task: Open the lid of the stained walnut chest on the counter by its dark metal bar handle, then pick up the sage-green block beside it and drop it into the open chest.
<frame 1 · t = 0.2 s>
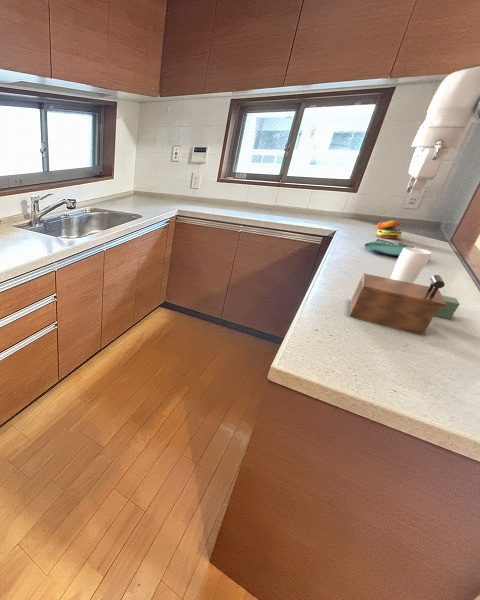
hand: (411, 194, 92), 32 cm above the worktop, tool pointing down, fingers open, 8 cm apart
white tapered cylinder: (394, 293, 110), on the worktop
block: (436, 313, 97), on the worktop
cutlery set: (391, 251, 153), on the worktop
chest: (383, 316, 94), on the worktop
lid: (404, 281, 89), point 12 cm above the worktop, hinge at 0.0°
cheeseburger: (385, 237, 175), on the worktop
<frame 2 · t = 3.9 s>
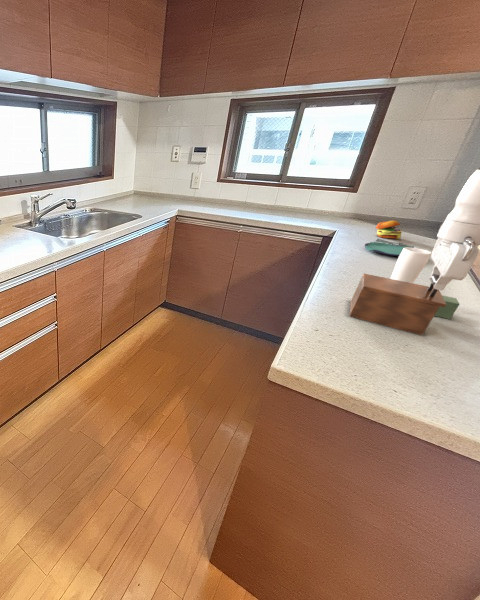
hand: (435, 284, 85), 12 cm above the worktop, tool pointing down, fingers closed on lid, 5 cm apart
lid: (404, 281, 89), point 11 cm above the worktop, hinge at 0.0°, touching gripper
everything else where it was.
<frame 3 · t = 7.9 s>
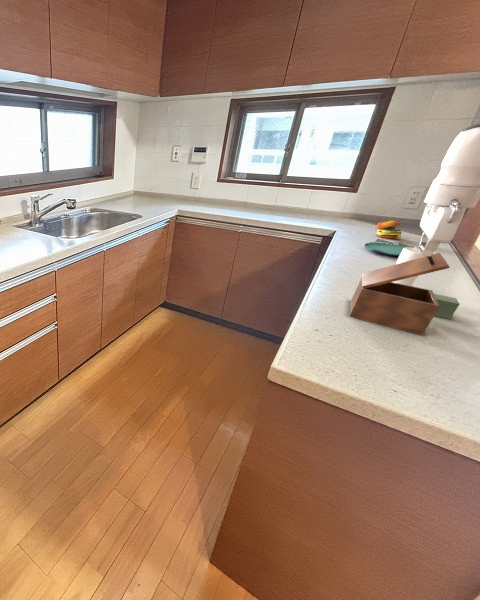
hand: (424, 252, 85), 20 cm above the worktop, tool pointing down, fingers closed on lid, 5 cm apart
lid: (397, 263, 88), point 16 cm above the worktop, hinge at 36.1°, touching gripper
everything else where it was.
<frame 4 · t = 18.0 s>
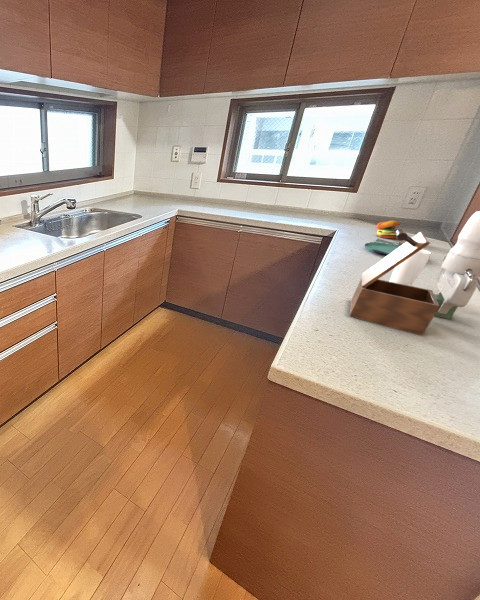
hand: (439, 308, 96), 2 cm above the worktop, tool pointing down, fingers closed on block, 5 cm apart
block: (436, 313, 97), on the worktop, touching gripper
lid: (384, 255, 90), point 18 cm above the worktop, hinge at 61.7°
everything else where it was.
when the fingers open (13 cm above the worktop, at t = 25.7 s): block drops 10 cm, resting on chest.
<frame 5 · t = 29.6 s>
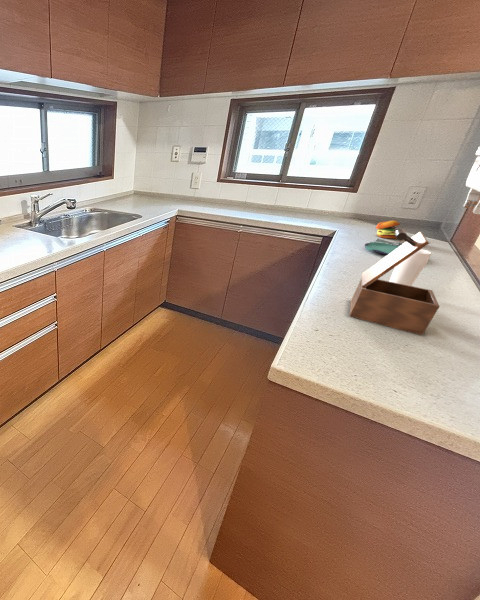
hand: (472, 210, 78), 31 cm above the worktop, tool pointing down, fingers open, 8 cm apart
block: (391, 316, 93), point 1 cm above the worktop, touching chest
lid: (384, 254, 90), point 18 cm above the worktop, hinge at 62.2°
everything else where it was.
at the end: lid at +62° (first picture: +0°); block inside the target area in the chest (1.7 cm from its centre), point 0.8 cm above the chest's base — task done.
